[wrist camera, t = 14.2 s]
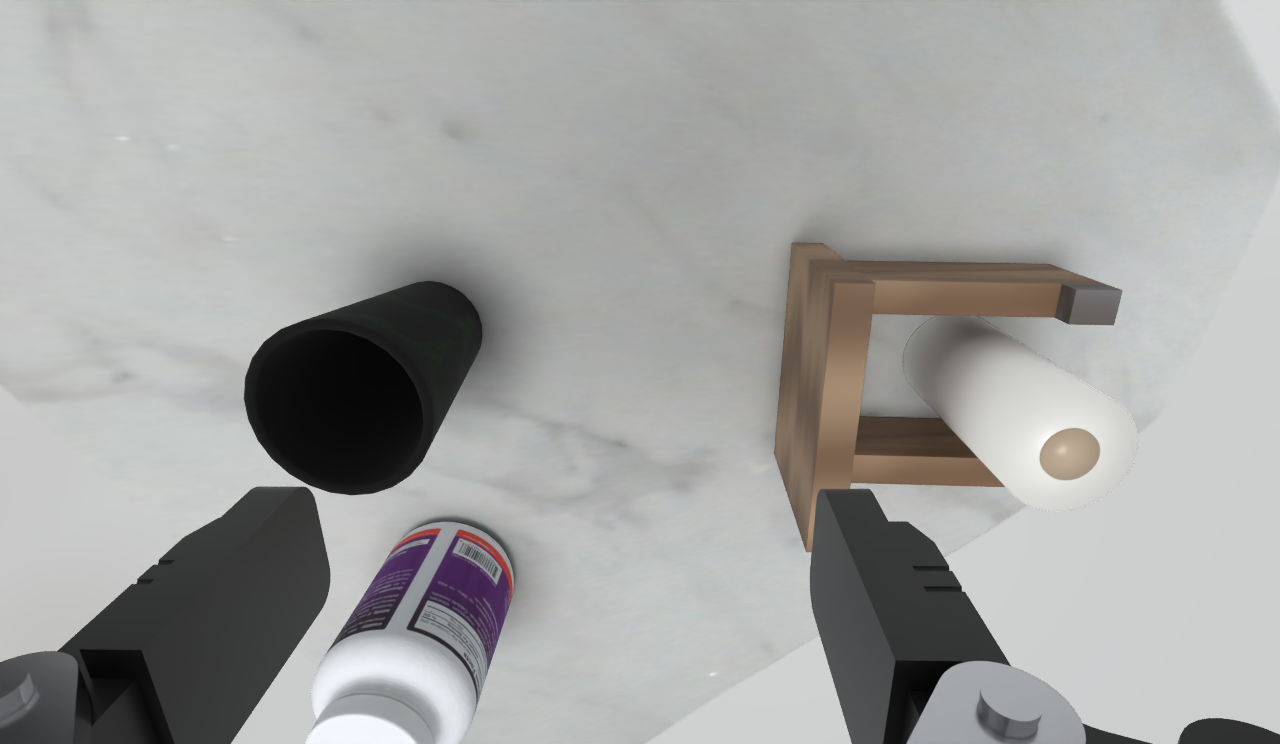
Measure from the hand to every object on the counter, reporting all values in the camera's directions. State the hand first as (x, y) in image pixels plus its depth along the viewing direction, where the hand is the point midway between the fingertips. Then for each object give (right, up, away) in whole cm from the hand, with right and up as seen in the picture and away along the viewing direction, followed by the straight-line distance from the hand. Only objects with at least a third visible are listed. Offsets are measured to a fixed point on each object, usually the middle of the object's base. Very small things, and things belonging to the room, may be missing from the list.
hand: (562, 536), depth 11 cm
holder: (+16, +4, +27) cm, 32 cm away
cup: (-10, +5, +28) cm, 30 cm away
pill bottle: (-11, -10, +34) cm, 37 cm away
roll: (+19, +3, +27) cm, 33 cm away
